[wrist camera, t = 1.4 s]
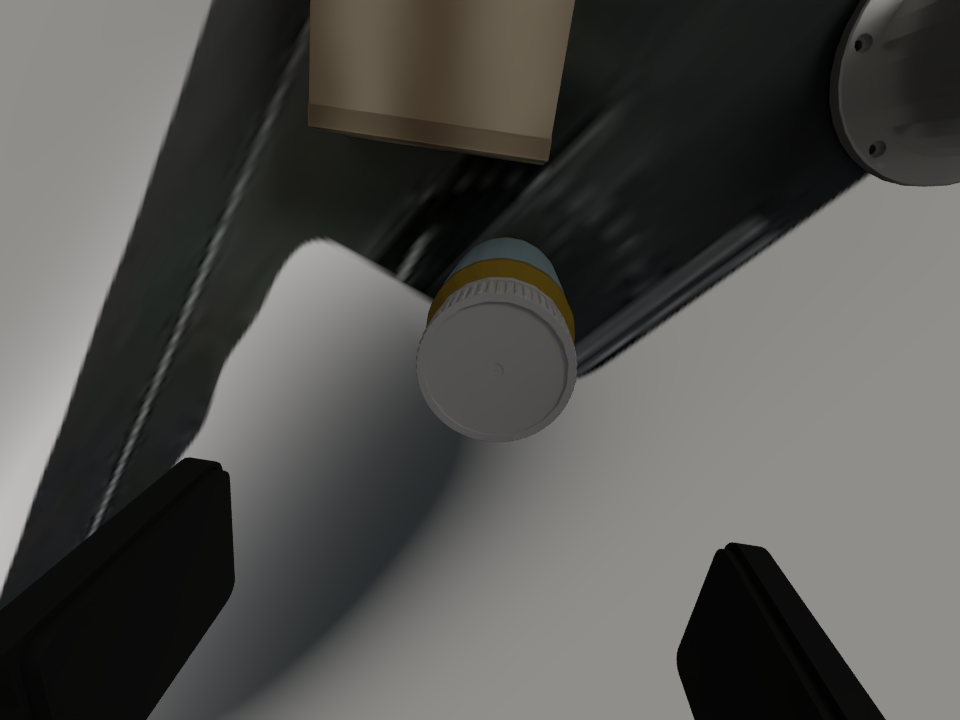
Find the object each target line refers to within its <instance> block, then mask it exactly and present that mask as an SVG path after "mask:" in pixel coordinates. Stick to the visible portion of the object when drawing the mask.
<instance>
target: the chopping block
mask: <svg viewBox="0 0 960 720" xmlns="http://www.w3.org/2000/svg"><path fill="white" fill-rule="evenodd" d="M574 3H575V0H310V67H309V103H308V126H311V127H315V128H319V129H322V130H326V131H330V132H333V133H337V134H341V135H344V136H348V137H355V138H362V139H369V140H375V141H382V142H389V143H396V144H402V145H409V146H416V147H423V148H430V149H436V150H443V151H450V152H457V153H463V154H470V155H477V156H484V157H490V158H497V159H504V160H511V161H518V162H524V163H531V164H538V165H543V164H544V163H546V162H547V161H548V158H549V152H550V146H551V141H552V139H551V135H552V129H553V123H554V118H555V112H556V106H557V100H558V95H559V89H560V83H561V77H562V72H563V66H564V60H565V54H566V49H567V43H568V37H569V31H570V26H571V20H572V14H573V8H574Z"/></svg>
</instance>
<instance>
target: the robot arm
mask: <svg viewBox="0 0 960 720" xmlns="http://www.w3.org/2000/svg"><path fill="white" fill-rule="evenodd" d="M855 43H856V45H857V48H856V49H855ZM829 102H830V109H831V115H832V122H833V125H834V128H835V130H836V133H837V135H838V138H839V141H840V143H841V144H842V146H843V147H844V149H845V150H846V152H847V153H848V154H849V156H850V157H851V159H852V160H854V161H855V162H856V163H857V164H858V165H859V166H860V167H861V168H863V169H864V170H865V171H866V172H868V173H870V174H872V175H874V176H876V177H878V178H880V179H881V180H884V181H888V182H891V183H896V184H899V185H904V186H924V187H925V186H944V185H951V184H955V183H959V182H960V0H861V1H860V2H859V4H858V6H857V7H856V9H855V11H854V13H853V14H852V16H851V18H850V20H849V21H848V23H847V25H846V27H845V29H844V32H843V34H842V37H841V40H840V42H839V45H838V47H837V50H836V53H835V57H834V62H833V67H832V71H831V76H830V96H829ZM869 148H871V149H870V152H869ZM234 582H235V573H234V553H233V532H232V512H231V492H230V476H229V474H228V472H226V471H223V470H222V466H221V464H220V463H218V462H215V461H209V460H202V459H196V458H184V459H183V460H181V461H180V462H179V463H177V464H176V465H175V466H174V467H173V468H171V469H170V470H169V471H168V472H167V473H165V474H164V475H163V476H162V477H161V478H159V479H158V480H157V481H156V482H155V483H153V484H152V485H151V486H150V487H149V488H147V489H146V490H145V491H144V492H143V493H141V494H140V495H139V496H138V497H137V498H135V499H134V500H133V501H132V502H131V503H129V504H128V505H127V506H126V507H125V508H123V509H122V510H121V511H120V512H119V513H117V514H116V515H115V516H114V517H112V518H111V519H110V520H109V521H108V522H106V523H105V524H104V525H103V526H102V527H100V528H99V529H98V530H97V531H96V532H94V533H93V534H92V535H91V536H90V537H88V538H87V539H86V540H85V541H84V542H82V543H81V544H80V545H79V546H78V547H76V548H75V549H74V550H73V551H72V552H70V553H69V554H68V555H67V556H66V557H64V558H63V559H62V560H61V561H60V562H58V563H57V564H56V565H55V566H54V567H52V568H51V569H50V570H49V571H48V572H46V573H45V574H44V575H43V576H42V577H40V578H39V579H38V580H37V581H36V582H34V583H33V584H32V585H31V586H30V587H28V588H27V589H26V590H25V591H24V592H22V593H21V594H20V595H19V596H18V597H16V598H15V599H14V600H13V601H11V602H10V603H9V604H8V605H7V606H5V607H4V608H3V609H2V610H1V611H0V720H146V719H147V718H148V716H149V715H150V713H151V712H152V711H153V709H154V708H155V706H156V704H157V703H158V702H159V700H160V699H161V697H162V696H163V694H164V693H165V691H166V690H167V688H168V687H169V686H170V684H171V683H172V681H173V680H174V678H175V677H176V675H177V674H178V673H179V671H180V669H181V668H182V667H183V665H184V664H185V662H186V661H187V659H188V658H189V656H190V655H191V654H192V652H193V651H194V649H195V648H196V646H197V645H198V643H199V642H200V640H201V639H202V637H203V636H204V635H205V633H206V632H207V630H208V628H209V627H210V626H211V624H212V623H213V621H214V620H215V619H216V617H217V616H218V614H219V613H220V611H221V610H222V608H223V607H224V605H225V604H226V602H227V601H228V599H229V597H230V595H231V593H232V590H233V587H234ZM677 668H678V672H679V676H680V679H681V681H682V684H683V687H684V690H685V693H686V696H687V699H688V702H689V705H690V708H691V711H692V714H693V716H694V719H695V720H886V719H885V718H884V717H883V715H882V714H881V712H880V711H879V710H878V708H877V707H876V705H875V704H874V702H873V701H872V699H871V698H870V697H869V695H868V694H867V692H866V691H865V689H864V688H863V687H862V685H861V684H860V682H859V681H858V679H857V678H856V677H855V675H854V674H853V672H852V671H851V669H850V668H849V666H848V665H847V664H846V662H845V661H844V660H843V658H842V656H841V655H840V654H839V652H838V651H837V649H836V648H835V646H834V645H833V643H832V642H831V641H830V639H829V638H828V636H827V635H826V633H825V632H824V631H823V629H822V628H821V626H820V625H819V623H818V622H817V621H816V619H815V618H814V616H813V615H812V613H811V612H810V611H809V609H808V608H807V606H806V605H805V603H804V602H803V601H802V599H801V598H800V596H799V595H798V593H797V592H796V591H795V589H794V588H793V586H792V585H791V583H790V582H789V581H788V579H787V578H786V576H785V575H784V573H783V572H782V571H781V569H780V568H779V566H778V565H777V563H776V562H775V561H774V559H773V558H772V556H771V555H770V553H769V552H768V551H767V550H766V549H764V548H763V547H759V546H752V545H746V544H739V543H729V544H728V545H726V547H725V549H719V550H717V552H716V553H715V556H714V558H713V561H712V563H711V566H710V568H709V571H708V573H707V576H706V579H705V581H704V584H703V586H702V589H701V591H700V595H699V597H698V599H697V602H696V604H695V607H694V610H693V612H692V615H691V617H690V620H689V622H688V625H687V627H686V630H685V633H684V636H683V638H682V640H681V643H680V645H679V648H678V652H677Z"/></svg>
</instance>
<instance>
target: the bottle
mask: <svg viewBox="0 0 960 720" xmlns="http://www.w3.org/2000/svg"><path fill="white" fill-rule="evenodd" d="M574 340H575V330H574V318H573V314H572V310H571V307H570V305H569V303H568V300H567V298H566V296H565V294H564V291H563V289H562V287H561V284H560V282H559V280H558V277H557V275H556V273H555V270H554V268H553V266H552V264H551V262H550V261H549V260H548V258H547V257H546V256H545V255H544V254H543V253H542V252H541V251H540V250H539V249H538V248H537V247H535V246H533V245H531V244H530V243H528V242H526V241H523V240H520V239H515V238H510V237H502V238H495V239H490V240H487V241H485V242H483V243H481V244H479V245H477V246H475V247H474V248H472V249H471V250H470V251H469V252H468V253H467V254H466V255H465V256H464V257H463V258H462V259H461V260H460V262H459V263H458V264H457V266H456V267H455V268H454V270H453V271H452V273H451V274H450V275H449V277H448V278H447V279H446V281H445V282H444V284H443V285H442V286H441V288H440V289H439V291H438V293H437V295H436V297H435V299H434V301H433V303H432V304H431V307H430V310H429V313H428V319H427V327H426V330H425V331H424V333H423V337H422V338H421V340H420V346H419V348H418V350H417V351H418V355H417V357H416V360H417V365H416V368H417V377H418V382H419V386H420V389H421V392H422V394H423V397H424V399H425V401H426V402H427V404H428V405H429V407H430V409H431V410H432V411H433V412H434V413H435V415H436V416H437V417H438V418H439V419H440V420H441V421H442V422H444V423H445V424H446V425H447V426H449V427H450V428H452V429H453V430H455V431H457V432H459V433H461V434H462V435H465V436H467V437H470V438H473V439H477V440H481V441H489V442H507V441H514V440H519V439H522V438H525V437H528V436H531V435H533V434H535V433H537V432H539V431H540V430H542V429H544V428H545V427H546V426H548V425H549V424H550V423H551V422H553V421H554V420H555V418H557V416H559V414H560V413H561V412H562V410H563V409H564V407H565V406H566V404H567V403H568V401H569V399H570V397H571V394H572V392H573V389H574V385H575V383H576V375H577V369H576V367H577V361H576V358H577V355H576V352H575V346H574Z"/></svg>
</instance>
